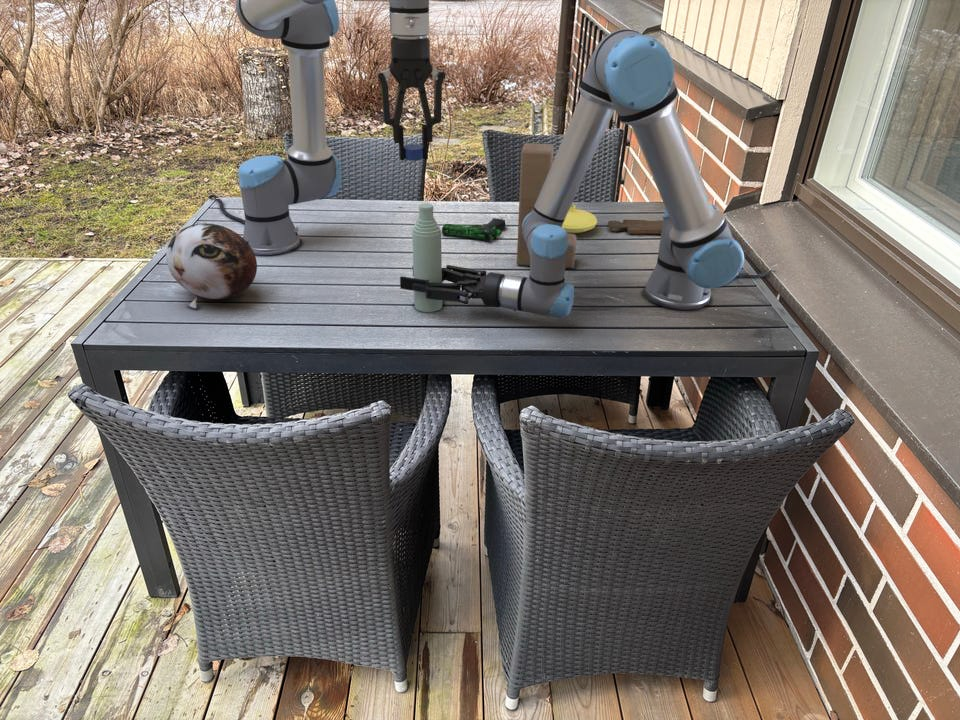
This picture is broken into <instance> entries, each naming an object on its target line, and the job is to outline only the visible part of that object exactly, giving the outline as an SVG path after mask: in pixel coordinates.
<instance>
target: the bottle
mask: <svg viewBox="0 0 960 720" xmlns="http://www.w3.org/2000/svg"><path fill="white" fill-rule="evenodd" d="M411 240H412V241H411V243H412V273H413V272H414V277H413V278H415V279H422V280H429V283H443V281H442V268H443V266H442V265H443V263H442V262H443V261H442V259H443V257H442V256H443V254H442V253H443V252H442V228H441V227H440V225H439V223H438V222H437V220H436V219H435V217H434V204H432V203H421V204H419V205H418V218H417V220H416V222H415V223H414V225H413V227H412V230H411ZM413 295H414V309H416V310H417V311H419V312H423V313H433V312H437V311H439V310H441V309H442V308H443V300H435V299H427V298H426V293H425V292H419V291H413Z"/></svg>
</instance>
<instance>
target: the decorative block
mask: <svg viewBox="0 0 960 720" xmlns="http://www.w3.org/2000/svg"><path fill="white" fill-rule="evenodd" d="M554 149H555V147H554V145H553V144H551V143H533V142H526V143H524V144H523V146H522V149H521V154H520V174H519V175H520V176H519V178H520V179H519V199H518V218H517V219H518V220H517V224H518V225H517V244H516V248H517V249H516V265H518V266H529V267H530V254H529V251H528V248H527V245H526V242H525V240H524V237H523V235H522V223H523V220H524V218H525V217H526V216H527V215H528V214H529V213H531V212H532V210H533V208H534V205H535V203H536V201H537V198H538V196H539V193H540V191H541V189H542V186H543V184H544V182H545V179H546V177H547V175H548V172H549V170H550V168H551V165H552V163H553V160H554ZM567 234H568V238H567V243H568V249H567V255H566V266H565V269H574V267H575V262H576V261H575V260H576V250H577V235H576V234H575V233H567Z"/></svg>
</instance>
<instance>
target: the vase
mask: <svg viewBox="0 0 960 720" xmlns="http://www.w3.org/2000/svg"><path fill="white" fill-rule="evenodd" d="M597 223H598V219H597V217H596V215H595V214H593V213H591V212H589V211H587V210H584V209H578V208H576V205H575V204H573V203H572V204H571V207H570V209H569V211H568V213H567V215H566V218H565V220H564V222H563V225H562V227H561V228H564V229H565V230H566V231H567V233H569V234H580V233H584V232H585V233H586V232H587V231H591V230H592V229H594V228H596V226H597Z"/></svg>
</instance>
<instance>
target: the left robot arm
mask: <svg viewBox="0 0 960 720" xmlns="http://www.w3.org/2000/svg"><path fill="white" fill-rule="evenodd" d="M388 7H389V8H388V9H389V10H388V11H389V33H390V35H392V37H391V38H390V58H391V60H390V64H389V66H388V68H387V69H384V70H379V71H377V72H376V76H377V78H378V80H379V83H380V90H381V91H380V92H381V105H382V119H383V122H384V124H385V125H386V126H387V125H388V126H391V127H392V139H393V142H394V144H398V153H399V154H398V157H399V160H400V161H405V159H404V146H405V138H404V137H405V136H404V127H403V124H401V118H402V113H403V107H404V102H405V95H406V92H407V89H411V88H414V89H417V91H418V97H419V101H420V105H421V109H422V114H423V118H424V122H425V124H421V145H422V146H423V147H424V158H423V160H429V150H428V148H429V147H428V145H429V144H428V143H432V142H433V139H434V138H433V136H434V135H433V127H434V126H435V125H436V124H441V123H442V111H443V109H442V108H443V104H442V103H443V101H442V100H443V83H444V80H445V78H446V73H445V71H443V70H442V69H436V68H434V67H433V65H432V63H431V40H430V39H429V37H427V36H429V35H430V0H388ZM235 12H236V15H237V18H238V21H239V22H240V23H241V24H242V25H241V26H243V27H244V28H245V29H246V30H247V31H248V32H249V33H251V34H253V35H254V36H257V37H259V38H262V39H267V40H280V43H281V45H282V46H283V47H284V48H285V50H287V57H288V73H289V74H288V75H289V90H290V91H289V93H290V108H291V109H290V111H291V128H292V145H291V146H290V147H289V148H288V150H287V159H285V160H283V158H282V157H281V156H279V155H275V154H274V155H273V154H269V155H260V156H256V157H252V158H250V159H247V160H245V161H244V162H243V163H241V165H239V167H238V170H237V174H238V186H239V190H240V196H241V201H242V208H243V212H244V213H243V215H244V219H243V218H241V217H238V216H235V215H233V214H231V213H230V212H228V211H227V210H226V209H225V208H224V203H223V200H222V199H221V198H219V196H217V195H216V194H210V195H209V196H208V199H209V200H212V199H214V200H216V201H217V202H218V204H219V209H220V211H221V212H222V213H223V214H224V216H226V217H228V218H229V219H231V220H234V221H237V222H240V223H242V224H244V226H243V228H244V229H243V235H242V237H243V238H244V239H245V240H246V241H249V242H248V244H249V245H250V247H251V248H252V250H253V252H254V254H255V256H256V255H257V256H275V255H281V254H282V255H283V254H285V253H289V252H291V251H293V250H296V249H297V248H298V247H299V246H300V244H301V241H300V235H299V233H298V231H299V226H296V227H295V225H294V223H293V220H292V218H291V216H290V207H289V206H291V205H296V204H303V203H307V202H312V201H317V200H319V201H321V200H324V199H326V198H330V197H333V196H335V195H336V194H337V193H338V191H339V190H340V187H341V184H342V168H341V167H340V161H339V159H338V157H337V156H336V155H335V154H334V153H333V150H332V149H331V148H330V147H329V146H328V145H327V121H326V120H327V119H326V117H327V116H326V115H327V114H326V86H325V85H326V84H325V82H326V80H325V52H326V51H327V50H328V49H329V48H330V47H331V45H330V44H331V43H330V42H331V37H334V36H335V35H337V34H338V32H339V31H338V30H339V29H340V28H339V27H340V16H339V15H340V14H339V10H338V7H337V2H336V1H335V0H235ZM391 75H392V77H393V78H394V80H395V81H396V83H397V92H396V97H395V104H394V105H395V106H394V111H393V116H392V117H391V108H390V94H389V93H390V92H389V85H388V83H389V82H390V76H391ZM430 76H432V77H431V78H432V80H433V81H434V82H433V83H434V84H433V116H432V114H431V110H430V104H429V102H428V97H427V91H426V85H425V84H426V82H427V80H428V79H429V77H430ZM211 198H212V199H211ZM216 198H219V199H216Z"/></svg>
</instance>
